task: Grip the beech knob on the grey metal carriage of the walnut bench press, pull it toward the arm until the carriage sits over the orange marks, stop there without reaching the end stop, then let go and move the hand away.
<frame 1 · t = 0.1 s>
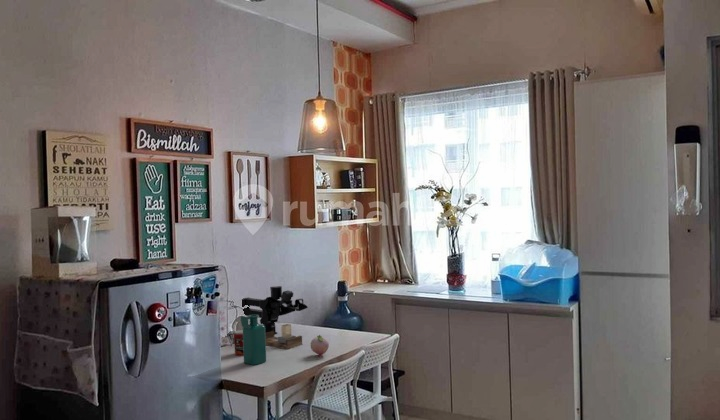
hand: (301, 308, 315), 17 cm above the table, tool horizontal, fingers open, 9 cm apart
canned food: (243, 354, 290), on the table
decorative fruit: (319, 356, 282), on the table
pitcher: (254, 363, 274), on the table
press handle: (286, 333, 304), point 6 cm above the table, slide at 0.0 cm
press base: (280, 344, 307), on the table
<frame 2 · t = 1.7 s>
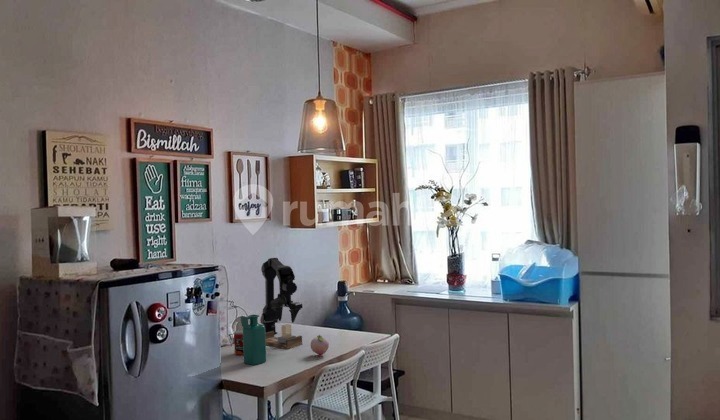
hand: (286, 321, 304), 12 cm above the table, tool pointing down, fingers open, 9 cm apart
nothing on the table moved.
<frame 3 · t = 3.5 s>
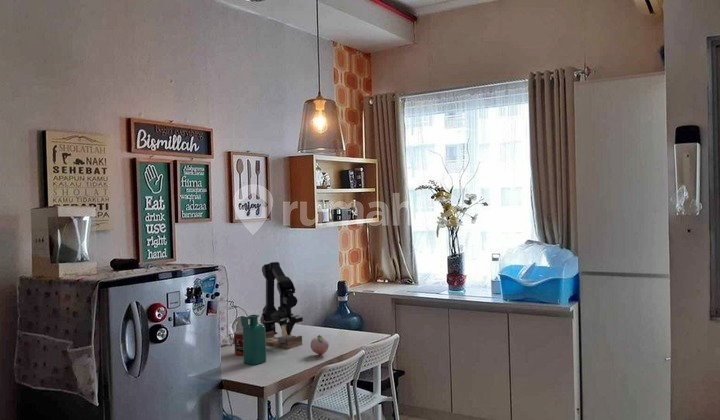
hand: (286, 334, 304), 6 cm above the table, tool pointing down, fingers closed on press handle, 3 cm apart
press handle: (286, 333, 304), point 6 cm above the table, slide at 0.0 cm, touching gripper
everything else where it was.
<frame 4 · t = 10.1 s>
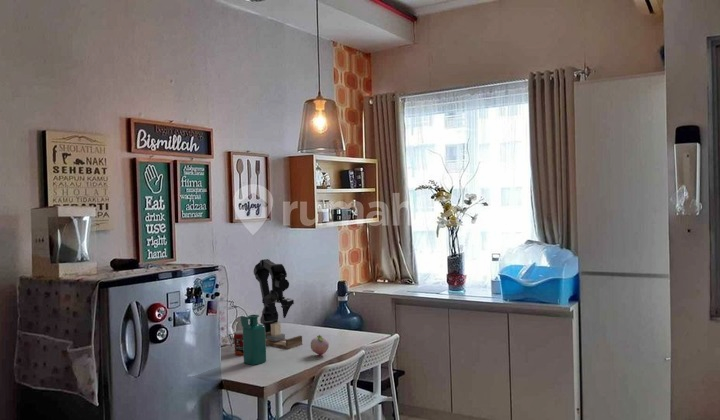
hand: (278, 316, 317), 12 cm above the table, tool pointing down, fingers open, 9 cm apart
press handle: (275, 331, 309), point 6 cm above the table, slide at 7.9 cm
everything else where it was.
at the end: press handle slide at 7.9 cm; the gripper is holding nothing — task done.
